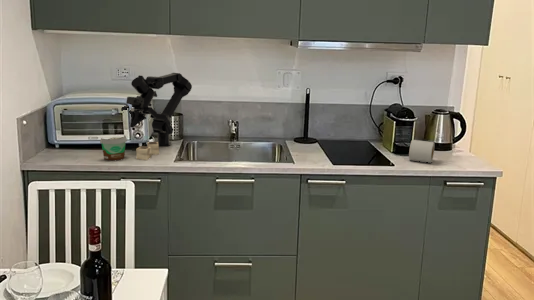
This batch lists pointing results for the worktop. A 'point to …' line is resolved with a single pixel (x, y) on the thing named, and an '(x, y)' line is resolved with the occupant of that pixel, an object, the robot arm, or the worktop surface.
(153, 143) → the number block
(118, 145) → the food container
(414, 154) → the toilet paper
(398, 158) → the worktop surface
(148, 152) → the number block
